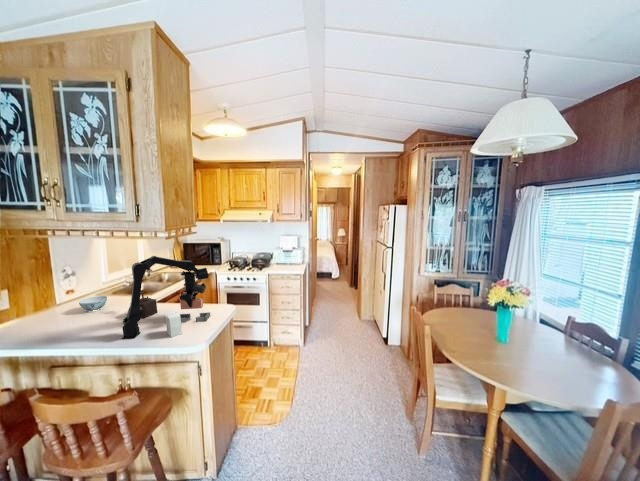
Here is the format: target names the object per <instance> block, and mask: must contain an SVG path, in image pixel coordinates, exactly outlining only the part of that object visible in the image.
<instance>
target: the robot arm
mask: <svg viewBox="0 0 640 481" xmlns="http://www.w3.org/2000/svg"><path fill="white" fill-rule="evenodd" d="M156 264H157V265H162V266H169V267H173V268H178V269H180V270H181V269H182V272H181V273H180V275H181V276H183V277H184V283H183V287H184V288H185V290H184V291H183V293H182V294H181V295H179V300H180V301H181V300H185V301H186V302H187V304H188V305H189V307H192V300H193V299H197V298H196V297H197V295H198V294H204V293H205V290H206V289H207V286H206V283H204V282H202V283H201V284H198V283H197V282H198V281H200V280H205V279H209V277H210V276H209V272H208V269H207V267H203V268H197V267H196V265H195V262H193V261H191V260H189V259H188V260H183V259H182V260H177V259H171V258H165V257H161V256H157V255H152V256H151V257H149V258H145V259H144V260H141V261H140V262H139V261H138V262H135V263H133V264H132V265H131V273H132V288H131V290H132V291H131V298H130V303H131V305H129V307H128V310H127V314H126V316H125V318H124V319H123V320H122V324H123V326H122V334H123V336H122V337H121V340H129V339H135V338H136V337H138V336H139V335H140V334H141V331H140V330H141V329H140V326H139V324H138V322H140V321H141V319H142V318H141V317H142V312H143V309H142V307H139V304H140V299H141V295H142V294H141V291H142V283H143V279H144V277H145V274H146V271H147V270H149V269H150V268H151V267H153V266H154V265H156ZM196 280H198V281H196ZM140 294H141V295H140Z"/></svg>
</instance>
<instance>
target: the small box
mask: <svg viewBox="0 0 640 481" xmlns="http://www.w3.org/2000/svg"><path fill="white" fill-rule="evenodd" d="M164 316H165V325H166V334H167V335H169V337H170V338H174V337H177V336H180V335H182V334H183V330H182V329H183V328H182V327H183V326H182V323H181V317H180V314H178V313H177V312H172V313H168V314H165V315H164Z"/></svg>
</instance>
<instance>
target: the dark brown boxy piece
mask: <svg viewBox="0 0 640 481" xmlns="http://www.w3.org/2000/svg"><path fill="white" fill-rule="evenodd" d="M140 296H141V297H140V304H139V307H142V309H143V312H142V317H141V319H143V320H144V319H147V318H149V317H151V316H153V315H156V314H158V305H157V299H156V298H151V297H149V296H146V297H145V296H144V290H142V289H141V294H140ZM130 305H131V302H130ZM130 305H129V306H130Z"/></svg>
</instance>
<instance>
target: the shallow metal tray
mask: <svg viewBox="0 0 640 481" xmlns="http://www.w3.org/2000/svg"><path fill="white" fill-rule="evenodd" d="M179 315H180V317H181V324H185V323H187V322H188V321H189V320H190V319H191V317H192V316H191V313H180V314H179ZM210 318H211V312H200V313H199V316H197V317H195V322H196V323H201V322H208V321H209V320H208V319H210Z"/></svg>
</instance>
